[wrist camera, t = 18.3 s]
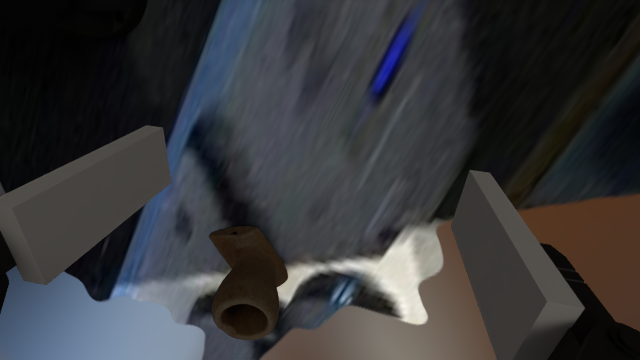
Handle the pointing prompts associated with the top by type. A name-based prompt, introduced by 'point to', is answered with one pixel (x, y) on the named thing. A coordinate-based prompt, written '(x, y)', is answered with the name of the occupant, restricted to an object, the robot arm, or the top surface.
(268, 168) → the top surface
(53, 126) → the top surface
